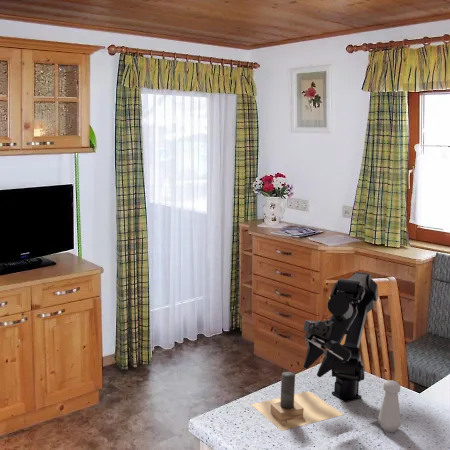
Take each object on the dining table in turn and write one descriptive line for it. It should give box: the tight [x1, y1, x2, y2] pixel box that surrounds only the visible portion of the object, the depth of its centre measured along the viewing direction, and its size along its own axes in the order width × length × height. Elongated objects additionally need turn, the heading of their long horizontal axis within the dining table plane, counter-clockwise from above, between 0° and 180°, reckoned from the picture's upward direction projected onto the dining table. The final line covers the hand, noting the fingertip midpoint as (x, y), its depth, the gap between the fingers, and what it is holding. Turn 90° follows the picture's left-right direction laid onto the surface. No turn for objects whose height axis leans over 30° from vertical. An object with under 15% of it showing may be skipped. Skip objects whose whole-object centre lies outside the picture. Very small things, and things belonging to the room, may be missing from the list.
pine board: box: [250, 391, 345, 432], centre depth 161 cm, size 20×16×2 cm
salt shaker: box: [378, 379, 402, 433], centre depth 153 cm, size 6×6×13 cm
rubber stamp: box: [271, 371, 304, 422], centre depth 157 cm, size 7×6×12 cm
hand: (311, 372), depth 158 cm, fingers open, 9 cm apart
